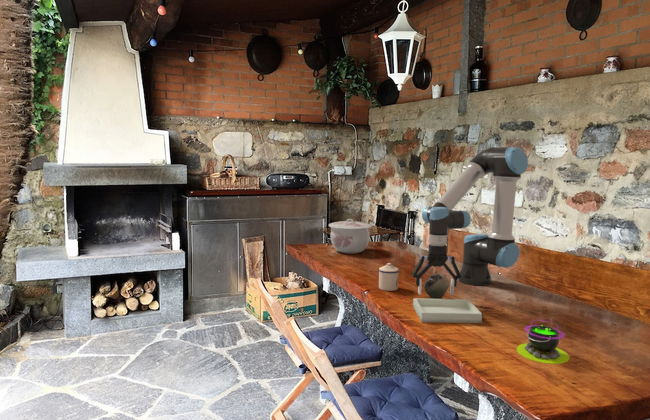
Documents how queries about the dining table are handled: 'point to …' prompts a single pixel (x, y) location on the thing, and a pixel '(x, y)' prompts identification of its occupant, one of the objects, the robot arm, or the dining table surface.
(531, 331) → the toy cauldron
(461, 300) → the serving tray
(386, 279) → the teacup with lid
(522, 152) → the robot arm
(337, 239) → the chamber pot
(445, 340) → the dining table surface
